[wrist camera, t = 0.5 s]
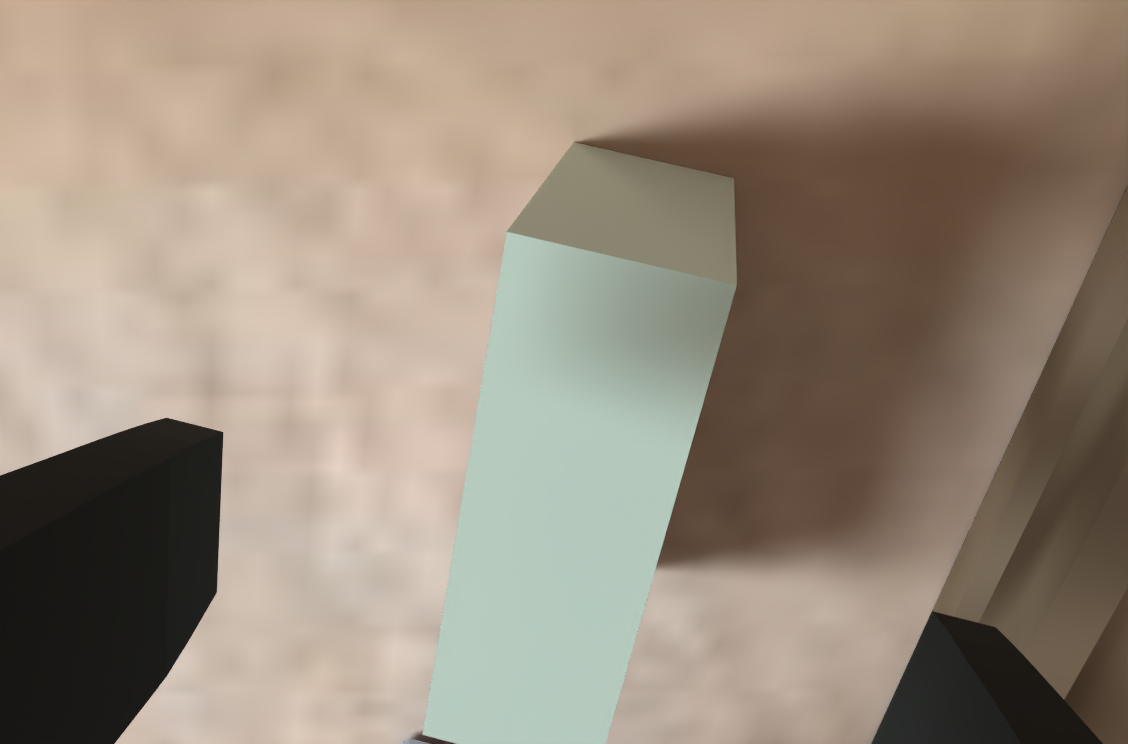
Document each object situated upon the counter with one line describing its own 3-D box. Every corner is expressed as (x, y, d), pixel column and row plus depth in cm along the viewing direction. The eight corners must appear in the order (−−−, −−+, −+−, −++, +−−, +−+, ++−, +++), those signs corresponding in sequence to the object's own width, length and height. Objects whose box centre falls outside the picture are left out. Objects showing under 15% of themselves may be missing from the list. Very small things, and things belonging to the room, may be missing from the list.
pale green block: (628, 566, 21) (594, 780, 16) (499, 534, 21) (422, 734, 16) (734, 177, 17) (736, 285, 12) (574, 140, 18) (506, 231, 12)
